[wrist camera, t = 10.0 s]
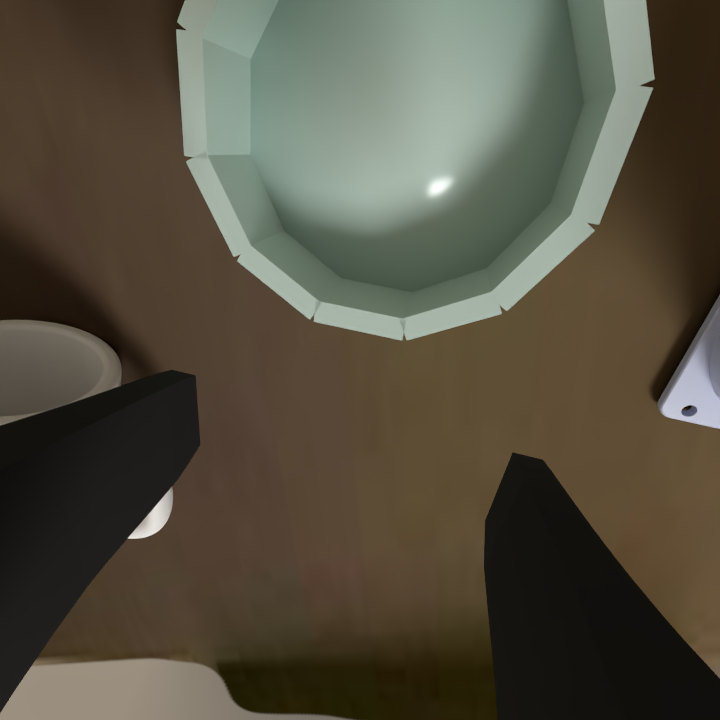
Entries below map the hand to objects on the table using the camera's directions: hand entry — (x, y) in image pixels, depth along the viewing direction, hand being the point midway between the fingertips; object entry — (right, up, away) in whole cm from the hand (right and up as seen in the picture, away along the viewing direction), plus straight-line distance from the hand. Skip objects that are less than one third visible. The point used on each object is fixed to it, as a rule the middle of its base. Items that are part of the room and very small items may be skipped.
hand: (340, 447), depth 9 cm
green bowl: (+2, +10, +5) cm, 11 cm away
